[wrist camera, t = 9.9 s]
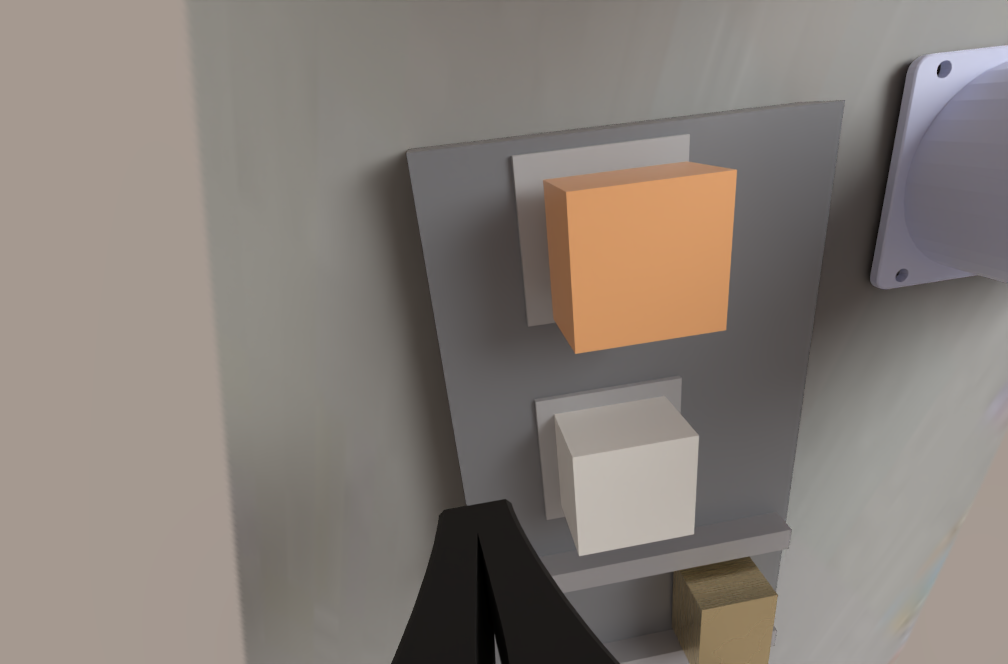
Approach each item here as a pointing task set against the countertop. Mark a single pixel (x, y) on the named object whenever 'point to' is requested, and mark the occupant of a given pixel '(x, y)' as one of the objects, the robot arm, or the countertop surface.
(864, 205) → the countertop surface
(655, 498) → the off-white button
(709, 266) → the orange button
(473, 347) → the grey ridged tray
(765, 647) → the wood grain block
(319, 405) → the countertop surface
